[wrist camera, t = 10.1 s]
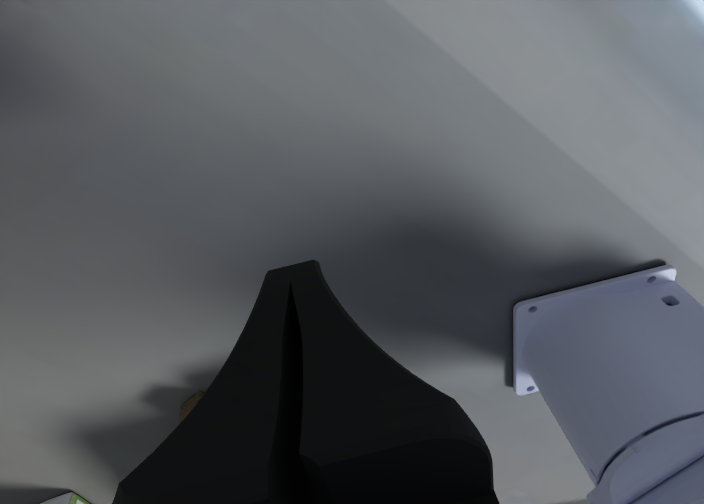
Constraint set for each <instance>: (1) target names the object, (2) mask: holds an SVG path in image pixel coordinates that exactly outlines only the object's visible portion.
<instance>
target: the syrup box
mask: <svg viewBox="0 0 704 504" xmlns="http://www.w3.org/2000/svg"><path fill="white" fill-rule="evenodd" d="M40 504H90V503H88V502H87V501H85V500H84V499H82V498H81V497H79V496H78V495H76V494H75V493H73V492H70V493H66V494H64V495H61V496H58V497H55V498H52V499H50V500H47V501H45V502H43V503H40Z"/></svg>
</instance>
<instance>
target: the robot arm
mask: <svg viewBox="0 0 704 504" xmlns="http://www.w3.org/2000/svg"><path fill="white" fill-rule="evenodd" d="M675 277H676V269H675V268H674V267H673V266H672V265H664V266H660V267H656V268H652V269H648V270H644V271H640V272H636V273H632V274H628V275H624V276H620V277H616V278H612V279H608V280H604V281H600V282H596V283H592V284H588V285H584V286H580V287H576V288H572V289H568V290H564V291H560V292H557V293H553V294H549V295H545V296H541V297H537V298H533V299H529V300H525V301H521V302H518V303H517V304H516V305H515V306H514V309H513V389H514V391H515V393H516V394H517V395H525V394H529V393H533V392H537V391H540V393H541V394H542V396H543V398H544V400H545V401H546V403H547V405H548V406H549V408H550V410H551V412H552V413H553V415H554V417H555V418H556V420H557V422H558V423H559V425H560V427H561V429H562V430H563V432H564V434H565V435H566V437H567V439H568V441H569V442H570V444H571V446H572V447H573V449H574V451H575V452H576V454H577V456H578V458H579V459H580V461H581V463H582V464H583V466H584V468H585V470H586V471H587V473H588V475H589V476H590V478H591V480H592V482H593V483H594V485H595V488H594V489H593V490H592V491H591V492H590V493H588V494H587V498H588V500H589V501H590V503H591V504H704V307H703V306H702V305H701V304H700V303H699V302H697V301H696V300H695V299H694V298H693V297H692V296H691V295H690V294H688V293H687V292H686V291H685V290H684V289H683V288H682V287H681V286H679V285H678V284H677V283H676V282H675ZM532 306H533V307H532ZM530 307H532V308H530ZM529 308H530V309H529ZM112 504H499V501H498V499H497V496H496V494H495V491H494V486H493V465H492V458H491V454H490V451H489V449H488V446H487V445H486V443H485V441H484V439H483V438H482V436H481V434H480V432H479V431H478V429H477V428H476V426H475V425H474V424H473V422H472V421H471V420H470V418H469V417H468V416H467V414H466V413H465V412H464V410H463V409H462V408H461V407H460V405H459V404H458V403H457V402H456V401H455V399H453V398H451V397H449V396H448V395H446V394H444V393H442V392H441V391H439V390H437V389H436V388H434V387H432V386H431V385H429V384H427V383H426V382H424V381H423V380H421V379H420V378H418V377H417V376H415V375H414V374H412V373H411V372H410V371H408V370H407V369H406V368H404V367H403V366H402V365H401V364H399V363H398V362H397V361H395V360H394V359H393V358H392V357H390V356H389V355H388V354H387V353H385V352H384V351H383V350H382V349H381V348H380V347H379V346H378V345H377V344H375V343H374V342H373V341H372V340H371V339H370V338H369V337H368V336H367V335H366V334H365V333H364V332H363V331H362V330H361V328H360V327H359V326H358V325H357V324H356V323H355V322H354V320H353V319H352V318H351V317H350V316H349V315H348V313H347V312H346V311H345V309H344V308H343V307H342V306H341V304H340V303H339V301H338V300H337V298H336V297H335V296H334V294H333V293H332V291H331V289H330V288H329V286H328V284H327V283H326V281H325V279H324V277H323V275H322V272H321V268H320V265H319V262H317V261H315V260H310V261H306V262H302V263H298V264H294V265H290V266H286V267H282V268H278V269H274V270H270V271H268V272H267V274H266V275H265V278H264V281H263V284H262V287H261V290H260V292H259V295H258V298H257V300H256V303H255V305H254V307H253V310H252V312H251V314H250V316H249V319H248V321H247V323H246V325H245V327H244V329H243V331H242V333H241V335H240V337H239V339H238V341H237V343H236V345H235V347H234V348H233V350H232V352H231V354H230V356H229V357H228V359H227V361H226V362H225V364H224V366H223V367H222V369H221V370H220V372H219V373H218V375H217V376H216V378H215V380H214V381H213V382H212V384H211V385H210V387H209V388H208V389H207V391H206V392H205V393H204V395H203V396H202V397H201V399H200V400H199V401H198V403H197V404H196V405H195V406H194V408H193V409H192V410H191V412H190V413H189V414H188V415H187V416H186V417H185V419H184V420H183V421H182V422H181V423H180V424H179V425H178V427H177V428H176V429H175V430H174V431H173V432H172V433H171V434H170V435H169V436H168V437H167V438H166V439H165V440H164V442H163V443H162V444H161V445H160V446H159V447H158V448H157V449H156V450H155V451H154V452H153V453H152V454H150V455H149V456H148V457H147V458H146V459H145V460H144V461H143V462H142V463H141V464H140V465H139V466H138V467H137V468H136V469H134V470H133V471H132V472H131V473H130V474H129V475H128V476H127V477H126V478H125V479H124V480H122V481H121V482H120V483H119V486H118V489H117V492H116V495H115V497H114V500H113V503H112Z"/></svg>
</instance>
